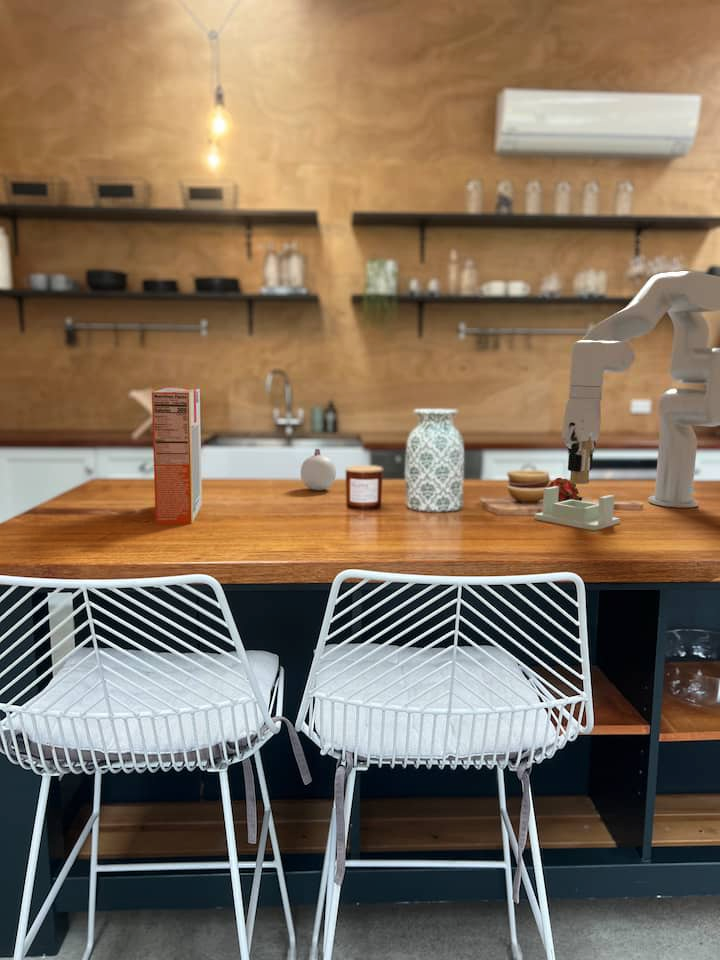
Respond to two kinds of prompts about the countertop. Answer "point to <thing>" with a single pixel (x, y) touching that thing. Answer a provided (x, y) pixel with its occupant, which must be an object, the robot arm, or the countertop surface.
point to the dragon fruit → (565, 490)
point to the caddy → (577, 511)
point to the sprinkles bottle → (583, 464)
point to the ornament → (318, 472)
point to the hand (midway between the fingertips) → (579, 469)
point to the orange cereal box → (177, 454)
